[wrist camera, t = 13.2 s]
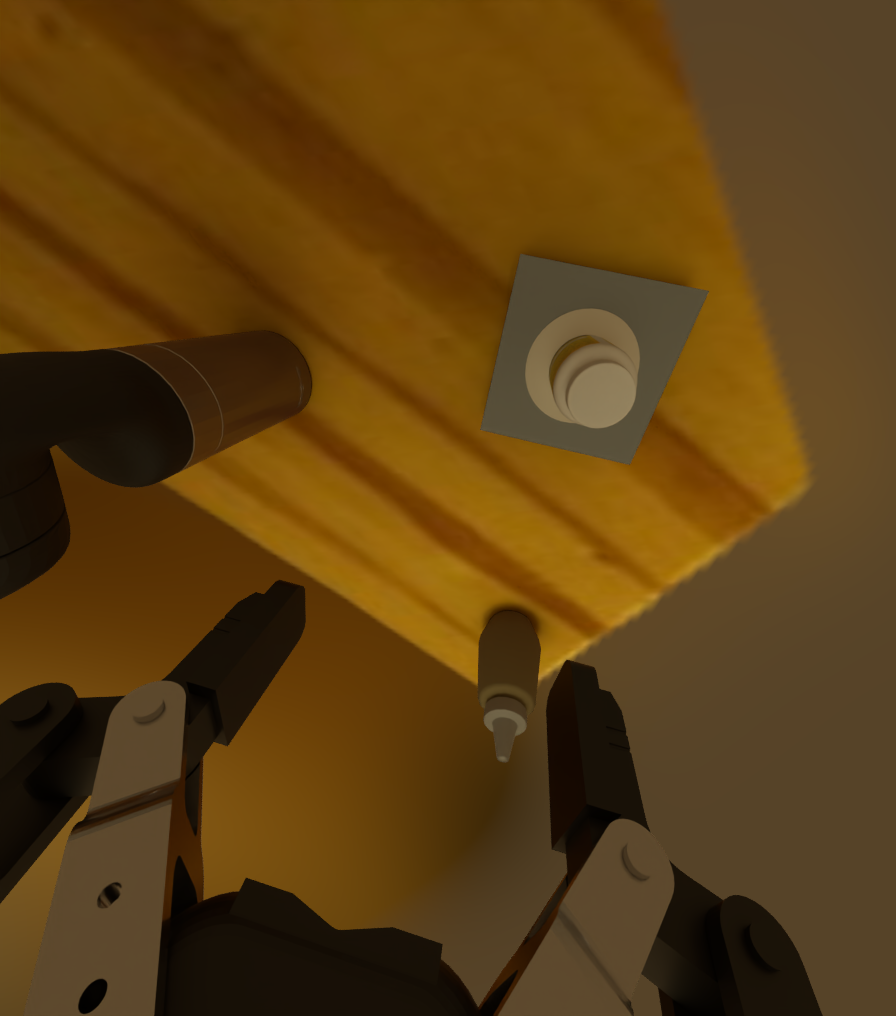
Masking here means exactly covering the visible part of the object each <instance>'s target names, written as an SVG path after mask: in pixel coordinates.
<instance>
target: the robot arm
mask: <svg viewBox="0 0 896 1016" xmlns="http://www.w3.org/2000/svg"><path fill="white" fill-rule="evenodd" d="M310 394H311V376H310V373H309V369H308V366H307V364H306V362H305V360H304V358H303V356H302V355H301V354H300V352H299V351H298V349H297V348H296V347H295V346H294V345H293V344H292V343H291V342H290V341H288V340H287V339H285V338H284V337H282V336H280V335H278V334H276V333H274V332H269V331H253V332H244V333H235V334H226V335H217V336H209V337H200V338H192V339H184V340H175V341H167V342H158V343H150V344H143V345H135V346H126V347H118V348H109V349H99V350H90V351H77V352H22V353H8V354H0V599H2V598H4V597H6V596H8V595H9V594H11V593H13V592H15V591H17V590H19V589H20V588H22V587H24V586H25V585H27V584H29V583H30V582H32V581H33V580H35V579H36V578H38V577H39V576H41V575H43V574H44V573H45V572H47V571H48V570H49V569H50V568H51V567H53V566H54V565H55V564H56V562H57V561H58V560H59V559H60V558H61V557H62V556H63V554H64V553H65V551H66V549H67V547H68V545H69V542H70V524H69V519H68V515H67V512H66V507H65V503H64V499H63V495H62V491H61V488H60V484H59V481H58V477H57V474H56V470H55V466H54V463H53V459H52V456H51V453H50V448H51V447H52V446H55V445H57V446H59V448H60V449H61V450H62V451H63V452H64V453H65V454H66V455H67V456H68V457H69V458H71V459H72V460H73V461H74V462H75V463H77V464H78V465H79V466H81V467H82V468H83V469H85V470H87V471H88V472H89V473H91V474H93V475H94V476H96V477H98V478H100V479H102V480H104V481H107V482H109V483H112V484H116V485H120V486H124V487H144V486H149V485H152V484H155V483H157V482H160V481H162V480H164V479H166V478H168V477H170V476H172V475H174V474H176V473H178V472H180V471H182V470H184V469H186V468H189V467H191V466H193V465H195V464H197V463H199V462H201V461H203V460H205V459H207V458H208V457H210V456H212V455H214V454H216V453H219V452H221V451H223V450H225V449H227V448H229V447H231V446H233V445H235V444H237V443H239V442H241V441H243V440H245V439H247V438H249V437H251V436H253V435H255V434H257V433H259V432H261V431H263V430H265V429H267V428H269V427H271V426H273V425H275V424H277V423H279V422H281V421H283V420H285V419H287V418H289V417H291V416H293V415H295V414H297V413H299V412H300V411H301V410H302V409H303V408H304V407H305V406H306V404H307V402H308V400H309V397H310ZM305 616H306V615H305V588H304V587H303V586H300V585H297V584H293V583H290V582H286V581H282V580H278V581H276V582H275V583H274V584H273V585H272V586H271V587H270V588H269V590H268V591H267V592H266V593H265V594H261V593H257V592H255V593H254V594H252V595H250V596H248V597H247V598H245V599H243V600H241V601H240V602H238V603H237V604H236V605H235V606H234V607H233V608H232V609H231V610H230V611H229V612H228V613H227V614H226V615H225V618H224V619H222V620H221V621H220V622H219V623H218V624H217V625H216V626H215V627H214V629H213V630H211V631H210V632H209V633H208V634H207V635H206V636H205V637H204V638H203V640H202V641H200V642H199V644H198V645H197V646H196V647H195V648H194V649H193V650H192V651H191V652H190V653H189V654H188V655H187V656H186V657H185V658H184V659H183V660H182V661H181V662H180V663H179V664H178V665H177V666H176V668H175V669H174V670H173V671H172V672H171V673H170V674H169V675H167V676H166V677H165V678H164V679H163V680H162V681H157V682H152V683H149V684H146V685H143V686H141V687H139V688H137V689H135V690H133V691H132V692H130V693H129V694H127V695H126V696H116V697H92V698H78V697H77V695H76V693H75V691H74V690H73V688H72V687H70V686H69V685H67V684H63V683H46V684H41V685H38V686H34V687H31V688H29V689H26V690H24V691H22V692H20V693H18V694H16V695H14V696H12V697H11V698H9V699H7V700H6V701H5V702H3V703H2V704H1V705H0V903H1V902H2V901H3V900H4V898H5V897H6V896H7V895H8V894H9V892H10V891H11V890H12V889H13V888H14V886H15V885H16V884H17V883H18V881H19V880H20V879H21V878H22V877H23V875H24V874H25V873H26V872H27V871H28V869H29V868H30V867H31V866H32V865H33V863H34V862H35V861H36V860H37V858H38V857H39V856H40V855H41V854H42V852H43V851H44V850H45V849H46V848H47V846H48V845H49V844H50V843H51V841H52V840H53V839H54V838H55V837H56V835H57V834H58V833H59V832H60V831H61V829H62V828H63V827H64V826H65V824H66V823H67V822H68V821H69V820H70V818H71V817H72V816H73V815H74V813H75V812H76V811H77V810H78V809H79V807H80V806H81V805H82V804H83V803H84V801H85V800H86V799H87V798H88V796H89V795H92V797H91V801H90V805H89V809H88V812H87V815H86V817H85V818H84V820H83V821H80V822H78V823H77V824H76V825H75V826H74V827H73V829H72V831H71V833H70V835H69V838H68V841H67V844H66V847H65V851H64V855H63V859H62V863H61V867H60V871H59V875H58V879H57V883H56V887H55V891H54V895H53V899H52V903H51V907H50V911H49V915H48V919H47V923H46V927H45V931H44V935H43V939H42V943H41V947H40V951H39V955H38V959H37V963H36V967H35V971H34V975H33V979H32V983H31V987H30V991H29V995H28V999H27V1003H26V1007H25V1011H24V1015H23V1016H634V1015H633V1009H632V1007H631V1000H632V996H633V993H634V990H635V987H636V985H637V982H638V980H639V977H640V975H641V974H642V975H644V976H645V977H646V978H647V979H649V980H650V981H651V982H652V983H654V984H655V985H656V986H657V987H658V990H659V997H660V1003H661V1010H662V1016H822V1013H821V1011H820V1008H819V1006H818V1003H817V1000H816V997H815V995H814V992H813V989H812V987H811V984H810V981H809V978H808V976H807V973H806V971H805V968H804V965H803V963H802V961H801V958H800V956H799V953H798V951H797V950H796V948H795V946H794V944H793V942H792V941H791V939H790V938H789V936H788V935H787V933H786V932H785V930H784V929H783V928H782V926H781V925H780V924H779V923H778V922H777V920H776V919H775V918H774V917H773V916H772V915H771V914H770V913H769V912H768V911H767V910H765V909H764V908H763V907H762V906H761V905H759V904H758V903H756V902H755V901H753V900H751V899H749V898H747V897H744V896H740V895H733V896H729V897H728V898H727V899H724V900H722V899H721V898H719V897H718V896H716V895H715V894H713V893H712V892H710V891H709V890H707V889H706V888H705V887H703V886H702V885H700V884H699V883H697V882H696V881H694V880H693V879H691V878H690V877H688V876H687V875H686V874H684V873H683V872H682V871H680V870H679V869H678V868H676V866H674V865H673V864H672V863H671V862H670V860H669V859H668V857H667V855H666V853H665V851H664V849H663V848H662V846H661V845H660V843H659V842H658V841H657V839H656V838H655V837H654V836H653V835H652V834H651V832H650V830H649V827H648V825H647V821H646V818H645V813H644V809H643V804H642V800H641V795H640V791H639V786H638V782H637V777H636V773H635V769H634V764H633V760H632V755H631V753H630V746H629V742H628V737H627V736H626V728H625V724H624V720H623V715H622V711H621V710H620V708H619V706H618V704H617V703H616V701H615V699H614V698H613V696H612V694H611V692H608V691H605V690H601V689H599V685H598V679H597V674H596V670H595V668H594V667H592V666H588V665H584V664H581V663H577V662H574V661H570V660H566V661H565V663H564V664H563V666H562V668H561V670H560V672H559V674H558V676H557V678H556V680H555V682H554V684H553V686H552V688H551V690H550V693H549V696H548V700H547V708H546V717H547V745H548V769H549V794H550V818H551V819H550V820H551V844H552V850H555V851H559V852H562V853H565V854H566V859H567V873H566V874H565V875H564V877H563V878H562V880H561V882H560V883H559V885H558V887H557V888H556V890H555V891H554V893H553V894H552V896H551V897H550V899H549V901H548V902H547V904H546V905H545V907H544V908H543V910H542V912H541V913H540V915H539V916H538V918H537V920H536V921H535V923H534V924H533V926H532V927H531V929H530V931H529V932H528V934H527V936H526V937H525V938H524V940H523V942H522V943H521V945H520V946H519V948H518V949H517V951H516V952H515V953H514V955H513V956H512V957H511V959H510V960H509V961H508V963H507V964H506V966H505V967H504V968H503V970H502V971H501V973H500V974H499V976H498V977H497V979H496V980H495V982H494V983H493V985H492V986H491V988H490V990H489V991H488V993H487V994H486V996H485V997H484V999H483V1001H482V1002H481V1004H480V1005H479V1007H478V1006H477V1004H476V1003H475V1001H474V999H473V997H472V995H471V994H470V992H469V990H468V989H467V988H466V986H465V985H464V983H463V982H462V981H461V979H460V978H459V976H458V975H457V974H456V973H455V972H454V971H453V970H452V969H451V968H450V966H449V965H447V964H446V963H445V962H444V961H443V960H441V952H442V944H440V943H437V942H435V941H432V940H428V939H426V938H423V937H420V936H417V935H414V934H411V933H408V932H405V931H402V930H399V929H396V928H393V927H390V928H372V929H353V930H337V929H335V928H333V927H332V926H330V925H329V924H328V923H327V922H326V921H324V920H323V919H322V918H321V917H320V916H318V915H317V914H316V913H315V912H314V911H313V910H311V909H310V908H309V907H308V906H307V905H306V904H304V903H303V902H302V901H301V900H300V899H299V898H297V897H296V896H295V895H294V894H293V893H290V892H287V891H284V890H281V889H278V888H275V887H272V886H269V885H266V884H263V883H260V882H257V881H254V880H251V879H248V878H246V879H245V881H244V883H243V885H242V887H241V889H240V891H239V892H229V893H225V894H220V895H217V896H214V897H211V898H209V899H206V900H203V895H204V870H203V857H202V848H201V822H202V787H203V786H202V785H203V756H204V755H205V753H206V752H207V750H208V749H209V748H210V746H211V745H212V743H213V742H216V743H219V744H223V745H225V746H228V745H229V743H230V742H231V740H232V739H233V738H234V736H235V734H236V733H237V732H238V730H239V729H240V727H241V726H242V724H243V723H244V721H245V720H246V718H247V717H248V715H249V714H250V712H251V711H252V709H253V708H254V706H255V705H256V703H257V702H258V700H259V699H260V698H261V696H262V694H263V693H264V691H265V690H266V689H267V687H268V686H269V684H270V683H271V681H272V680H273V678H274V677H275V675H276V674H277V672H278V671H279V669H280V668H281V666H282V665H283V663H284V662H285V660H286V659H287V657H288V656H289V655H290V653H291V652H292V650H293V648H294V647H295V646H296V644H297V642H298V641H299V639H300V638H301V635H302V633H303V630H304V627H305V622H306V618H305Z"/></svg>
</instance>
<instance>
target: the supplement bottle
mask: <svg viewBox="0 0 896 1016" xmlns="http://www.w3.org/2000/svg"><path fill="white" fill-rule="evenodd" d="M549 382H550V385H551V390H552V394H553V398H554V401H555V403H556V405H557V407H558V409H559V411H560V412H561V413H562V414H563V415H564V416H565V417H566V418H567V419H569V420H570V421H572V422H574V423H576V424H579V425H583V426H586V427H590V428H605V427H608V426H611V425H614V424H616V423H617V422H619V421H620V420H622V419H623V418H624V417H625V416H626V415H627V414H628V412H629V411H630V410H631V408H632V406H633V404H634V401H635V397H636V388H637V371H636V368H635V365H634V363H633V361H632V360H631V358H630V357H629V356H628V355H627V354H626V353H625V352H624V351H623V350H622V349H620V348H618V347H617V346H615V345H613V344H612V343H610V342H608V341H607V340H605V339H603V338H601V337H598V336H595V335H581V336H577V337H574V338H572V339H570V340H568V341H567V342H565V343H564V344H563V345H562V346H561V347H560V348H559V349H558V350H557V351H556V353H555V355H554V356H553V358H552V361H551V364H550V368H549Z"/></svg>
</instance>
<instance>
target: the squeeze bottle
mask: <svg viewBox="0 0 896 1016" xmlns="http://www.w3.org/2000/svg"><path fill="white" fill-rule="evenodd" d="M540 652H541V647H540V643H539V639H538V637H537V635H536V633H535V631H534V628H533V626H532V624H531V622H530V621H529V620H528V618H527V617H526V616H524V615H522V614H521V613H519V612H514V611H502V612H499V613H497V614H495V615H494V616H493V617H492V618H491V619H490V621H489V623H488V624H487V626H486V627H485V629H484V630H483V632H482V634H481V636H480V640H479V658H478V700H479V703H480V705H481V706H482V707H483V708H484V719H483V720H484V723H485V725H486V727H488V729H489V730H490V731H492V732H494V739H495V747H496V754H497V759H498V760H499V761H501V762H507V761H508V760H509V757H510V753H511V749H512V745H513V741H514V738H515V736H516V735H519V734H521V733H522V732H524V731H525V729H526V726H527V715H529V714H530V713H531V712H533V710H534V707H535V703H536V693H537V683H538V673H539V663H540Z"/></svg>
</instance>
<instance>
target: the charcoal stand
mask: <svg viewBox="0 0 896 1016" xmlns="http://www.w3.org/2000/svg"><path fill="white" fill-rule="evenodd" d="M708 292H709V291H706V290H701V289H696V288H691V287H686V286H681V285H676V284H671V283H665V282H660V281H655V280H650V279H645V278H640V277H635V276H630V275H625V274H620V273H615V272H610V271H605V270H600V269H595V268H589V267H584V266H579V265H574V264H569V263H564V262H559V261H554V260H549V259H544V258H539V257H534V256H529V255H524V254H520V259H519V263H518V267H517V272H516V276H515V281H514V285H513V289H512V294H511V298H510V302H509V307H508V311H507V316H506V320H505V324H504V329H503V333H502V337H501V342H500V346H499V351H498V355H497V359H496V364H495V368H494V372H493V377H492V381H491V386H490V390H489V394H488V399H487V403H486V408H485V412H484V416H483V421H482V425H481V429H480V430H484V431H488V432H492V433H496V434H501V435H505V436H509V437H513V438H518V439H522V440H526V441H531V442H535V443H539V444H543V445H548V446H552V447H556V448H561V449H565V450H569V451H573V452H578V453H582V454H586V455H590V456H595V457H599V458H603V459H608V460H612V461H616V462H620V463H625V464H629V465H630V463H631V461H632V459H633V456H634V454H635V452H636V450H637V448H638V445H639V443H640V441H641V439H642V437H643V434H644V432H645V430H646V428H647V426H648V424H649V421H650V419H651V417H652V415H653V413H654V410H655V408H656V406H657V404H658V402H659V399H660V397H661V395H662V393H663V391H664V388H665V386H666V384H667V382H668V380H669V377H670V375H671V373H672V371H673V369H674V367H675V364H676V362H677V360H678V358H679V356H680V353H681V351H682V349H683V347H684V345H685V342H686V340H687V338H688V336H689V334H690V331H691V329H692V327H693V325H694V323H695V321H696V318H697V316H698V314H699V312H700V310H701V307H702V305H703V303H704V301H705V299H706V296H707V294H708ZM581 335H595V336H598V337H601V338H603V339H605V340H607V341H608V342H610V343H612V344H613V345H615V346H617V347H618V348H620V349H622V350H623V351H624V352H625V353H626V354H627V355H628V356H629V357H630V358H631V360H632V361H633V363H634V365H635V368H636V371H637V388H636V397H635V401H634V404H633V406H632V408H631V410H630V411H629V412H628V414H627V415H626V416H625V417H624V418H623V419H622V420H620V421H619V422H617V423H616V424H614V425H611V426H608V427H605V428H590V427H586V426H583V425H579V424H576V423H574V422H572V421H570V420H569V419H567V418H566V417H565V416H564V415H563V414H562V413H561V412H560V411H559V409H558V407H557V405H556V403H555V401H554V398H553V394H552V390H551V385H550V382H549V368H550V364H551V361H552V358H553V356H554V355H555V353H556V351H557V350H558V349H559V348H560V347H561V346H562V345H563V344H564V343H565V342H567V341H568V340H570V339H572V338H574V337H577V336H581Z"/></svg>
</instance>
